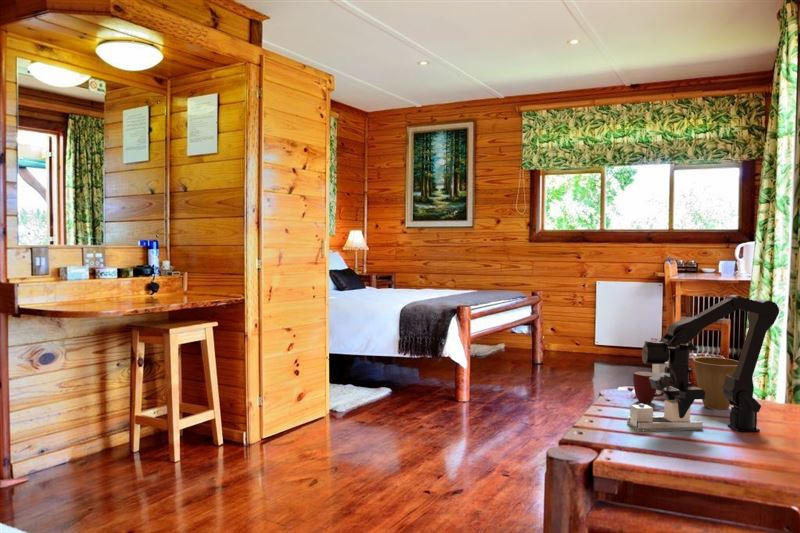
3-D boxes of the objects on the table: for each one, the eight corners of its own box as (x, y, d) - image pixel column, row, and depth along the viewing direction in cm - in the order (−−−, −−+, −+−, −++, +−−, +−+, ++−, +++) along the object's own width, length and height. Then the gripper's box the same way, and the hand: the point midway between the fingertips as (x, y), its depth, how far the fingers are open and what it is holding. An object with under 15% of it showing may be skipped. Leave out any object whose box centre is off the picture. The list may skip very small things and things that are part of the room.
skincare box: (670, 395, 233) (671, 362, 232) (658, 395, 232) (659, 362, 232) (662, 391, 239) (663, 359, 238) (651, 391, 238) (652, 359, 238)
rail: (687, 422, 196) (688, 400, 196) (702, 429, 188) (703, 406, 188) (626, 423, 193) (627, 401, 193) (639, 431, 186) (640, 407, 186)
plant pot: (686, 401, 224) (687, 356, 224) (730, 403, 222) (732, 357, 222) (700, 411, 209) (701, 363, 209) (747, 414, 207) (749, 365, 207)
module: (682, 417, 194) (683, 397, 193) (690, 421, 190) (690, 400, 189) (664, 417, 193) (664, 397, 193) (671, 421, 189) (672, 400, 189)
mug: (666, 402, 222) (667, 373, 222) (663, 407, 215) (664, 377, 215) (634, 398, 227) (635, 370, 227) (630, 402, 220) (631, 374, 220)
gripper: (638, 359, 199) (636, 408, 199) (671, 371, 180) (669, 425, 181) (671, 359, 200) (669, 408, 201) (707, 370, 182) (705, 424, 182)
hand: (677, 416), depth 191 cm, fingers closed on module, 4 cm apart
